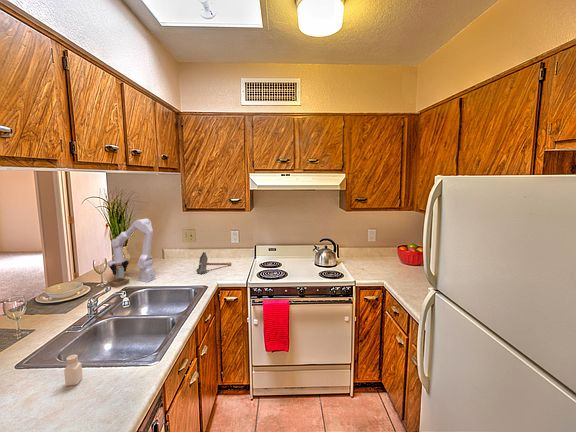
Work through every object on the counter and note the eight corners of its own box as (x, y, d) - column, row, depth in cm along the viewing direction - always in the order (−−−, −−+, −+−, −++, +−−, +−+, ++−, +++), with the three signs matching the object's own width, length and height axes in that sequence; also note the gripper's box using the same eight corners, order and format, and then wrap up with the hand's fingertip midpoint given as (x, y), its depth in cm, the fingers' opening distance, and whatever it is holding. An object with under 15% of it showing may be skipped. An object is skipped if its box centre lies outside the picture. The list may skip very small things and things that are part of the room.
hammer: (234, 253, 243) (203, 252, 220) (231, 272, 242) (200, 273, 220) (229, 252, 247) (199, 251, 224) (227, 271, 246) (196, 272, 223)
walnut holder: (129, 283, 202) (129, 279, 202) (116, 287, 194) (116, 283, 193) (120, 281, 206) (120, 277, 206) (107, 285, 197) (107, 281, 197)
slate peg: (124, 277, 213) (123, 267, 212) (119, 279, 210) (118, 268, 209) (120, 277, 215) (120, 266, 214) (115, 278, 211) (114, 268, 210)
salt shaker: (64, 386, 100) (62, 361, 99) (71, 379, 104) (68, 354, 103) (77, 385, 101) (75, 359, 100) (83, 377, 105) (81, 353, 104)
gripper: (123, 252, 218) (125, 269, 220) (104, 256, 205) (106, 275, 207) (130, 253, 216) (131, 270, 217) (111, 257, 202) (112, 276, 204)
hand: (119, 273), depth 212 cm, fingers open, 7 cm apart
